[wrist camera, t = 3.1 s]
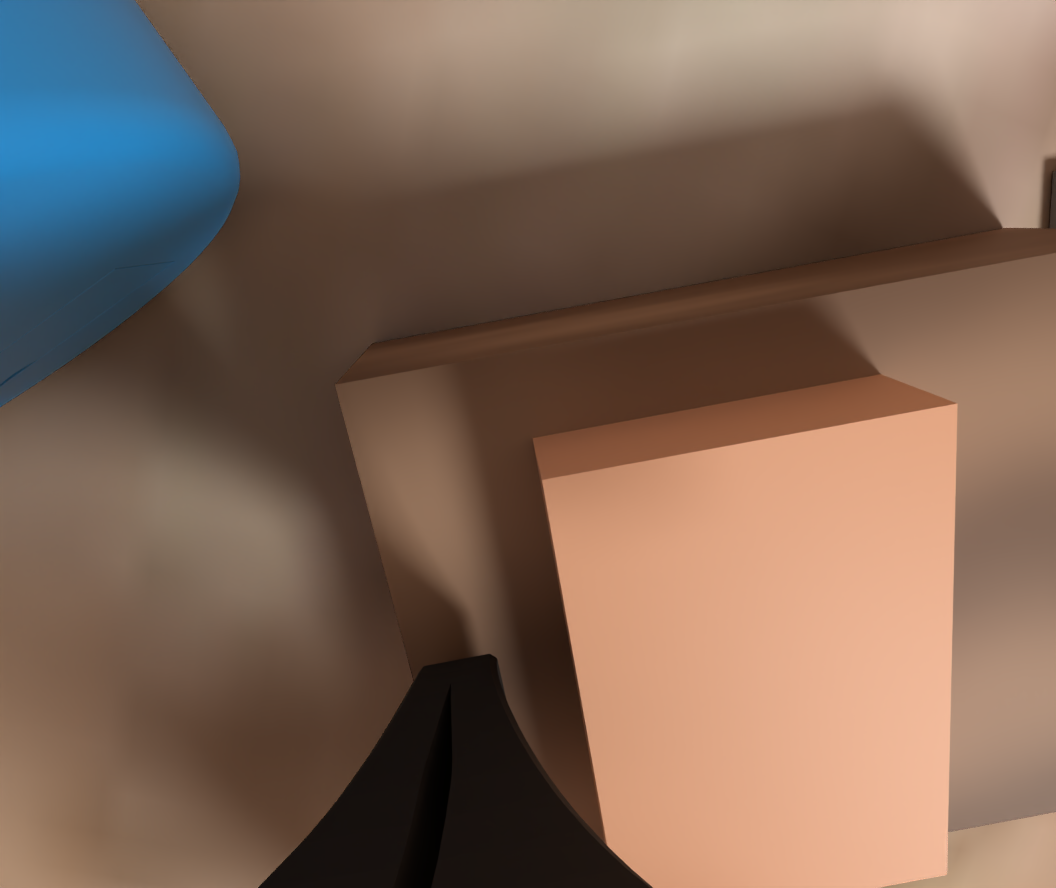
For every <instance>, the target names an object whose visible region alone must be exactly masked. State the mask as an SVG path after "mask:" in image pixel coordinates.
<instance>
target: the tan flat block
mask: <svg viewBox="0 0 1056 888" xmlns="http://www.w3.org/2000/svg"><path fill="white" fill-rule="evenodd" d="M879 374H882V375H884V376H887V377H890V378H892V379H895V380H897V381H900V382H903V383H905V384H908V385H910V386H913V387H916V388H918V389H921V390H924V391H926V392H929V393H931V394H934V395H937V396H939V397H942V398H944V399H947V400H950V401H952V402H955V403H958V408H957V452H956V496H955V541H954V585H953V630H952V674H951V719H950V763H949V807H948V832H952V831H957V830H963V829H968V828H973V827H979V826H984V825H989V824H995V823H1000V822H1005V821H1011V820H1016V819H1021V818H1027V817H1032V816H1037V815H1043V814H1048V813H1053V812H1056V229H1044V228H1003V229H997V230H992V231H986V232H981V233H975V234H970V235H964V236H959V237H954V238H948V239H943V240H937V241H932V242H926V243H921V244H915V245H910V246H904V247H899V248H893V249H888V250H882V251H877V252H871V253H866V254H860V255H855V256H850V257H844V258H839V259H833V260H828V261H822V262H817V263H811V264H806V265H800V266H795V267H789V268H784V269H778V270H773V271H767V272H762V273H757V274H751V275H746V276H740V277H735V278H729V279H724V280H718V281H713V282H707V283H702V284H696V285H691V286H685V287H680V288H674V289H669V290H663V291H658V292H653V293H647V294H642V295H636V296H631V297H625V298H620V299H614V300H609V301H603V302H598V303H592V304H587V305H581V306H576V307H570V308H565V309H559V310H554V311H549V312H543V313H538V314H532V315H527V316H521V317H516V318H510V319H505V320H499V321H494V322H488V323H483V324H477V325H472V326H466V327H461V328H455V329H450V330H445V331H439V332H434V333H428V334H423V335H417V336H412V337H406V338H401V339H395V340H390V341H384V342H379V343H373V344H372V345H371V346H370V347H369V348H368V349H367V350H366V351H365V352H364V353H363V354H362V355H361V357H360V358H359V359H358V360H357V361H356V362H355V363H354V364H353V365H352V366H351V368H350V369H349V370H348V371H347V372H346V373H345V374H344V375H343V376H342V377H341V378H340V380H339V381H338V382H337V383H336V384H335V388H336V392H337V395H338V399H339V403H340V407H341V410H342V414H343V418H344V422H345V425H346V429H347V433H348V437H349V440H350V444H351V448H352V452H353V455H354V459H355V463H356V467H357V470H358V474H359V478H360V482H361V485H362V489H363V493H364V497H365V500H366V504H367V508H368V512H369V515H370V519H371V523H372V527H373V530H374V534H375V538H376V542H377V545H378V549H379V553H380V557H381V560H382V564H383V568H384V572H385V575H386V579H387V583H388V587H389V590H390V594H391V598H392V602H393V605H394V609H395V613H396V617H397V620H398V624H399V628H400V632H401V635H402V639H403V643H404V647H405V650H406V654H407V658H408V662H409V665H410V669H411V673H412V677H413V680H415V678H416V676H417V675H418V673H419V671H420V670H421V669H422V667H423V666H427V665H432V664H437V663H443V662H448V661H453V660H458V659H464V658H469V657H474V656H480V655H485V654H491V655H493V656H495V657H496V658H497V659H498V664H499V668H500V673H501V677H502V682H503V686H504V691H505V695H506V700H507V702H508V705H509V707H510V709H511V711H512V713H513V715H514V717H515V719H516V721H517V723H518V726H519V728H520V730H521V731H522V733H523V735H524V737H525V739H526V741H527V742H528V744H529V746H530V747H531V749H532V751H533V752H534V754H535V756H536V757H537V759H538V760H539V762H540V764H541V765H542V767H543V768H544V770H545V771H546V773H547V774H548V776H549V777H550V778H551V780H552V781H553V782H554V784H555V785H556V787H557V788H558V789H559V791H560V792H561V793H562V795H563V796H564V797H565V798H566V800H567V801H568V802H569V803H570V805H571V806H572V807H573V808H574V810H575V811H576V812H577V813H578V814H579V816H580V817H581V818H582V819H583V820H584V821H585V822H586V823H587V824H588V825H589V826H590V828H591V829H592V830H593V831H594V832H595V833H596V834H597V835H598V836H599V837H600V838H601V839H602V841H603V842H604V843H605V840H604V834H603V829H602V823H601V818H600V812H599V807H598V801H597V795H596V790H595V784H594V779H593V773H592V767H591V762H590V756H589V751H588V745H587V740H586V734H585V728H584V723H583V717H582V712H581V706H580V701H579V695H578V689H577V684H576V678H575V673H574V667H573V662H572V656H571V650H570V645H569V639H568V634H567V628H566V622H565V617H564V611H563V606H562V600H561V595H560V589H559V583H558V578H557V572H556V567H555V561H554V556H553V550H552V544H551V539H550V533H549V528H548V522H547V516H546V511H545V505H544V500H543V494H542V489H541V483H540V477H539V472H538V466H537V461H536V455H535V450H534V444H533V438H536V437H542V436H547V435H553V434H558V433H564V432H569V431H575V430H580V429H585V428H591V427H596V426H602V425H607V424H613V423H618V422H624V421H629V420H634V419H640V418H645V417H651V416H656V415H662V414H667V413H673V412H678V411H683V410H689V409H694V408H700V407H705V406H711V405H716V404H721V403H727V402H732V401H738V400H743V399H749V398H754V397H760V396H765V395H770V394H776V393H781V392H787V391H792V390H798V389H803V388H809V387H814V386H819V385H825V384H830V383H836V382H841V381H847V380H852V379H858V378H863V377H868V376H874V375H879Z"/></svg>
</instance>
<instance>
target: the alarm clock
mask: <svg viewBox="0 0 1056 888" xmlns="http://www.w3.org/2000/svg"><path fill="white" fill-rule="evenodd" d="M239 184H240V165H239V159H238V153H237V150H236V148H235V146H234V144H233V142H232V140H231V138H230V136H229V134H228V132H227V131H226V129H225V127H224V125H223V124H222V122H221V121H220V120H219V118H218V117H217V115H216V114H215V113H214V111H213V110H212V108H211V107H210V106H209V104H208V103H207V101H206V100H205V99H204V97H203V96H202V94H201V93H200V91H199V90H198V89H197V87H196V86H195V84H194V83H193V82H192V80H191V79H190V77H189V76H188V75H187V73H186V72H185V70H184V69H183V68H182V66H181V65H180V63H179V62H178V60H177V59H176V58H175V56H174V55H173V53H172V52H171V51H170V49H169V48H168V46H167V45H166V44H165V42H164V41H163V39H162V38H161V36H160V35H159V34H158V32H157V31H156V29H155V28H154V27H153V25H152V24H151V22H150V21H149V20H148V18H147V17H146V15H145V14H144V13H143V11H142V10H141V8H140V7H139V5H138V4H137V3H136V1H135V0H0V407H1V406H3V405H4V404H6V403H7V402H9V401H11V400H12V399H14V398H15V397H17V396H18V395H20V394H21V393H23V392H25V391H26V390H28V389H29V388H31V387H32V386H34V385H35V384H37V383H38V382H40V381H41V380H43V379H44V378H46V377H47V376H49V375H50V374H52V373H53V372H55V371H56V370H58V369H59V368H60V367H62V366H63V365H65V364H66V363H68V362H69V361H71V360H72V359H74V358H75V357H76V356H78V355H79V354H81V353H82V352H83V351H85V350H86V349H88V348H89V347H90V346H92V345H93V344H95V343H96V342H97V341H99V340H100V339H101V338H103V337H104V336H105V335H107V334H108V333H109V332H111V331H112V330H114V329H115V328H116V327H117V326H119V325H120V324H121V323H123V322H124V321H125V320H126V319H128V318H129V317H130V316H132V315H133V314H134V313H135V312H137V311H138V310H139V309H140V308H141V307H143V306H144V305H145V304H146V303H148V302H149V301H150V300H151V299H152V298H154V297H155V296H156V295H157V294H158V293H160V292H161V291H162V290H163V289H164V288H165V287H166V286H168V285H169V284H170V283H171V282H172V281H173V280H174V279H175V278H176V277H178V276H179V275H180V274H181V273H182V272H183V271H184V270H185V269H186V268H187V267H188V266H189V265H190V264H191V263H192V262H193V261H194V260H195V259H196V258H197V257H198V256H199V255H200V254H201V253H202V252H203V250H204V249H205V248H206V247H207V246H208V245H209V243H210V242H211V241H212V240H213V239H214V237H215V236H216V234H217V233H218V232H219V230H220V229H221V228H222V226H223V224H224V223H225V221H226V219H227V217H228V216H229V214H230V212H231V209H232V206H233V204H234V201H235V199H236V196H237V193H238V191H239Z"/></svg>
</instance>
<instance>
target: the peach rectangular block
mask: <svg viewBox="0 0 1056 888" xmlns="http://www.w3.org/2000/svg"><path fill="white" fill-rule="evenodd" d="M957 408H958V403H955V402H952V401H950V400H947V399H944V398H942V397H939V396H937V395H934V394H931V393H929V392H926V391H924V390H921V389H918V388H916V387H913V386H910V385H908V384H905V383H903V382H900V381H897V380H895V379H892V378H890V377H887V376H884V375H882V374H879V375H874V376H868V377H863V378H858V379H852V380H847V381H841V382H836V383H830V384H825V385H819V386H814V387H809V388H803V389H798V390H792V391H787V392H781V393H776V394H770V395H765V396H760V397H754V398H749V399H743V400H738V401H732V402H727V403H721V404H716V405H711V406H705V407H700V408H694V409H689V410H683V411H678V412H673V413H667V414H662V415H656V416H651V417H645V418H640V419H634V420H629V421H624V422H618V423H613V424H607V425H602V426H596V427H591V428H585V429H580V430H575V431H569V432H564V433H558V434H553V435H547V436H542V437H536V438H533V444H534V450H535V455H536V461H537V466H538V472H539V477H540V483H541V489H542V494H543V500H544V505H545V511H546V516H547V522H548V528H549V533H550V539H551V544H552V550H553V556H554V561H555V567H556V572H557V578H558V583H559V589H560V595H561V600H562V606H563V611H564V617H565V622H566V628H567V634H568V639H569V645H570V650H571V656H572V662H573V667H574V673H575V678H576V684H577V689H578V695H579V701H580V706H581V712H582V717H583V723H584V728H585V734H586V740H587V745H588V751H589V756H590V762H591V767H592V773H593V779H594V784H595V790H596V795H597V801H598V807H599V812H600V818H601V823H602V829H603V834H604V840H605V844H606V845H607V846H608V847H609V848H610V849H611V850H612V851H613V852H614V853H615V854H616V855H617V856H618V857H619V858H620V859H622V860H623V861H624V862H625V863H626V864H627V865H628V866H629V867H630V868H631V869H632V870H633V871H634V872H636V873H637V874H638V875H639V876H640V877H641V878H643V879H644V880H645V881H646V882H647V883H648V884H649V885H651V886H652V887H653V888H879V887H884V886H890V885H895V884H900V883H906V882H911V881H916V880H922V879H927V878H932V877H938V876H943V875H947V852H948V807H949V763H950V719H951V674H952V630H953V585H954V541H955V496H956V452H957Z"/></svg>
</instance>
